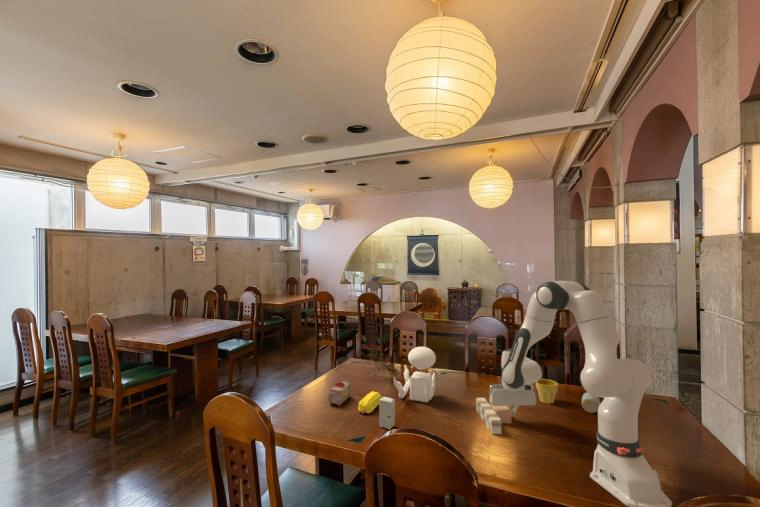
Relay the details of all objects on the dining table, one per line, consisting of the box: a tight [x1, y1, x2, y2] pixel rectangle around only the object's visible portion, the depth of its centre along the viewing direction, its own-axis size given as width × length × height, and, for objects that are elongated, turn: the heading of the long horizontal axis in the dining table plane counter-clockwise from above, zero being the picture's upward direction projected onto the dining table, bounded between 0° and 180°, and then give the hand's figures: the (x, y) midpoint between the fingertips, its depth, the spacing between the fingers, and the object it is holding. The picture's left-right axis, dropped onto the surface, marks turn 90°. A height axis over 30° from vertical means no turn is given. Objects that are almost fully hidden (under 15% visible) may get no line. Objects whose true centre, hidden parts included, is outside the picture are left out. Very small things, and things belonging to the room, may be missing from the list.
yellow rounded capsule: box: [358, 390, 383, 414], centre depth 176 cm, size 18×7×8 cm
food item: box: [327, 381, 351, 406], centre depth 186 cm, size 14×8×10 cm, turn 161°
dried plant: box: [330, 336, 401, 377], centre depth 221 cm, size 30×31×45 cm
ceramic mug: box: [581, 391, 601, 414], centre depth 168 cm, size 11×8×8 cm
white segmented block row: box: [475, 397, 503, 435], centre depth 160 cm, size 24×4×6 cm, turn 0°
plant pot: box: [535, 378, 559, 405], centre depth 181 cm, size 10×10×10 cm
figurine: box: [393, 346, 437, 403], centre depth 188 cm, size 24×20×28 cm
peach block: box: [489, 404, 513, 424], centre depth 162 cm, size 8×8×5 cm
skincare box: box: [378, 396, 396, 430], centre depth 157 cm, size 6×4×12 cm
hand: (512, 414), depth 160 cm, fingers closed
